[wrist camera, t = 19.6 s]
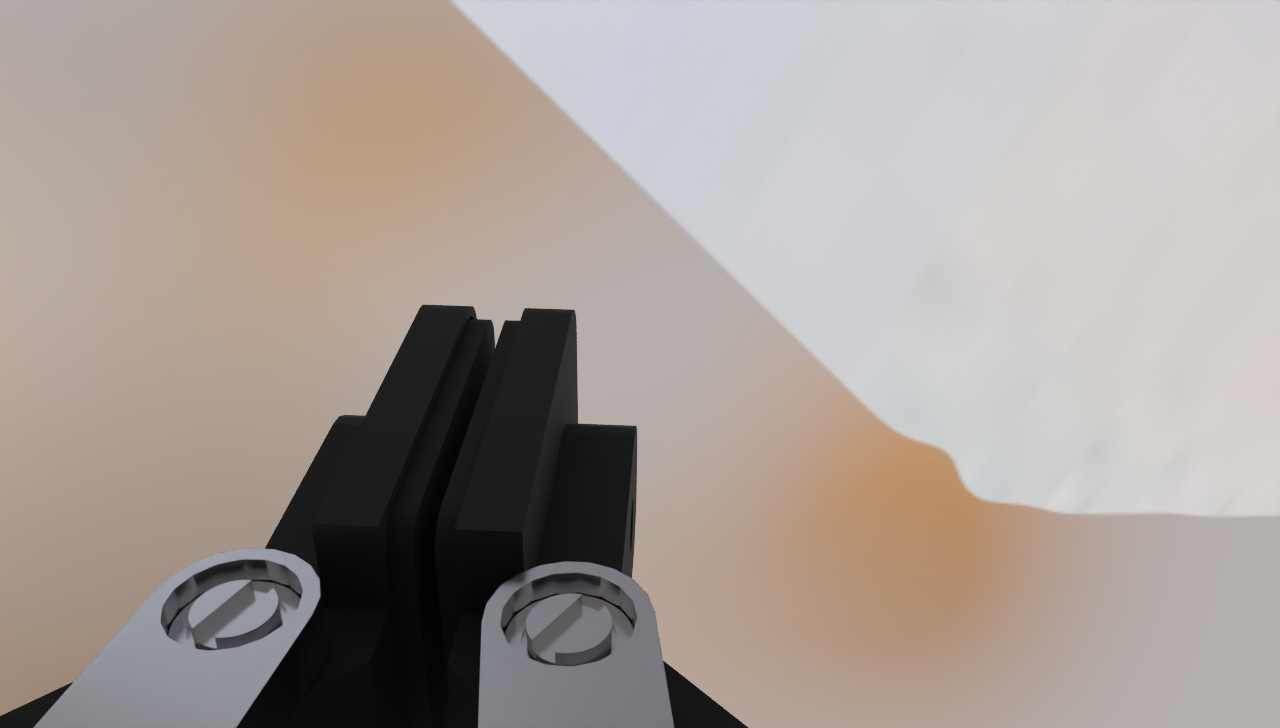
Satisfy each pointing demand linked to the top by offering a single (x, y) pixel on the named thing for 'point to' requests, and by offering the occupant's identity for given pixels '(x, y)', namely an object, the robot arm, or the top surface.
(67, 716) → the robot arm
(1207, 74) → the top surface
